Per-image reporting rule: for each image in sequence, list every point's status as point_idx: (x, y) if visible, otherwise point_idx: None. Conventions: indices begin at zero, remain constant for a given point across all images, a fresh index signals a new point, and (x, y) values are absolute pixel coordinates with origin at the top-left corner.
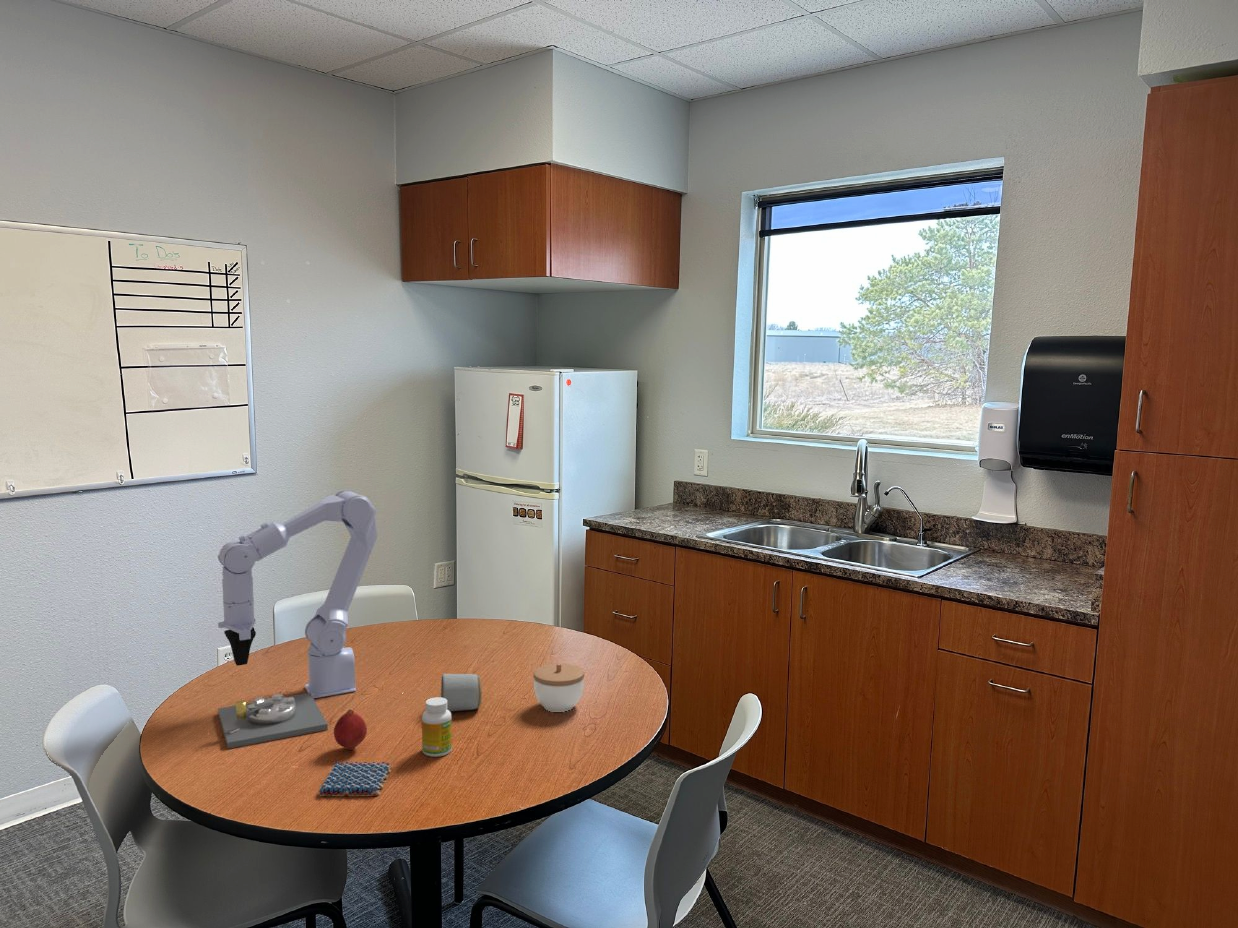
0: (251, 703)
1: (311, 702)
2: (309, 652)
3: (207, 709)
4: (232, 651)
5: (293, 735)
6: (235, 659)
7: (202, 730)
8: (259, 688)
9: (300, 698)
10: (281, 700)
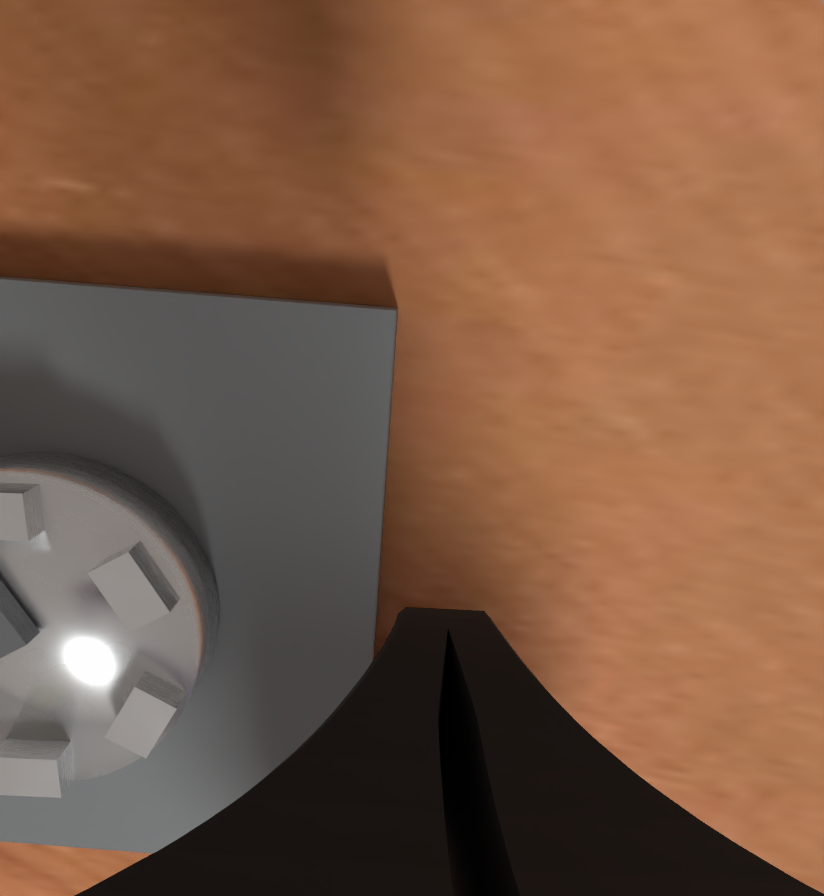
0: (363, 536)
1: None
2: None
3: (536, 251)
4: (472, 695)
5: None
6: (383, 646)
7: (137, 150)
8: (723, 637)
9: None
10: (102, 716)
